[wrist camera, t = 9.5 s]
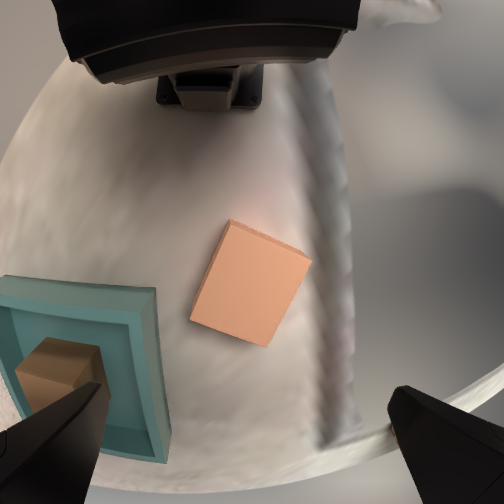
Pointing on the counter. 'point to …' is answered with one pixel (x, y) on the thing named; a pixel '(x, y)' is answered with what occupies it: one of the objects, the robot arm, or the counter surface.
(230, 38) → the robot arm
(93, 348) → the walnut block
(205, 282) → the terracotta carton
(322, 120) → the counter surface
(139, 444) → the tote
